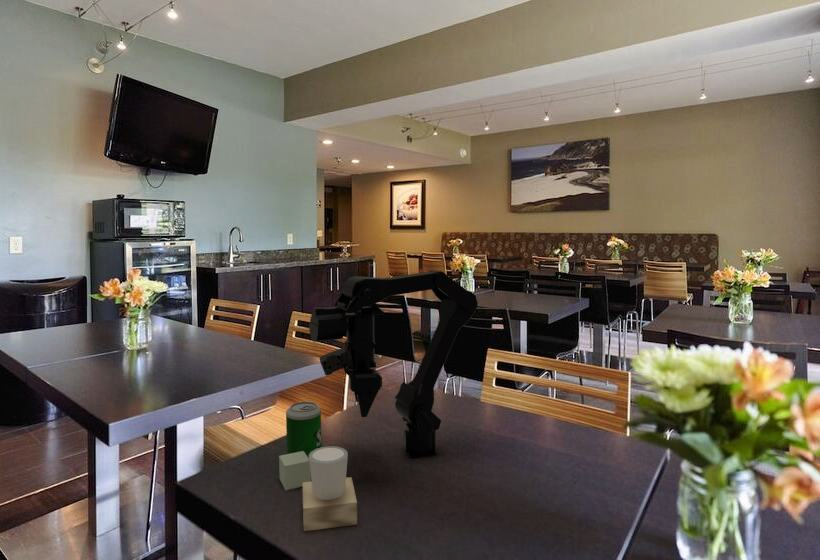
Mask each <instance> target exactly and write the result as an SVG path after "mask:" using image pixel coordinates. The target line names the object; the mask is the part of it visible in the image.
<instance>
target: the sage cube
mask: <svg viewBox="0 0 820 560" xmlns="http://www.w3.org/2000/svg"><path fill="white" fill-rule="evenodd" d="M278 463H279V466H278V467H279V480H280V482H281V485H282V486H283V488H284V491H288V490H293V489H297V488H301V487H302V488H303V482H310V481H312V480H311V471H310V462H309V458H308V457H307V455H306V454H305V452H304V451H301V452H296V453H291V454H287V453H286V454H282V455H279V456H278Z"/></svg>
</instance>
